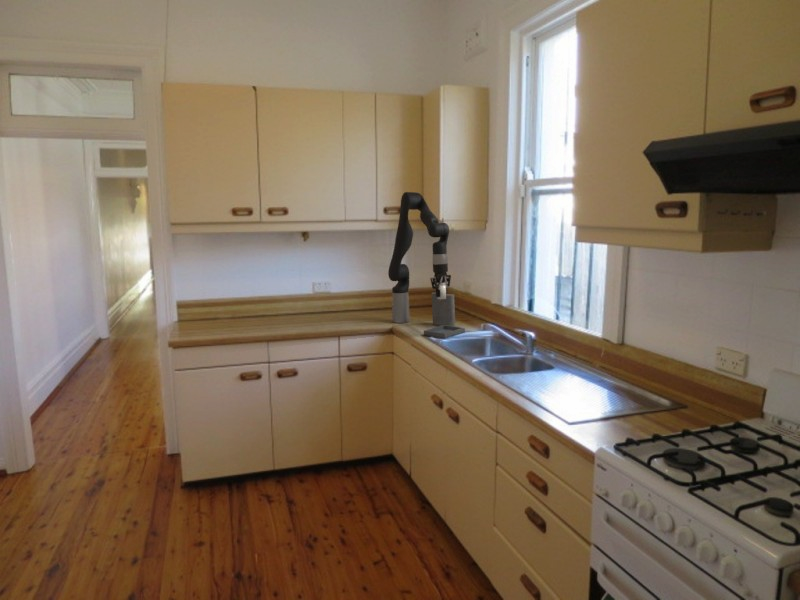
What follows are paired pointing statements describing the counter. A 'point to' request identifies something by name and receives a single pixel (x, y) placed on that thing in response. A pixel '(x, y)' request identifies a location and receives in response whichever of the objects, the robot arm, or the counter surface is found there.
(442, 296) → the shaker
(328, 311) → the counter surface
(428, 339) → the counter surface
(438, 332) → the tray
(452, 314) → the hip flask
